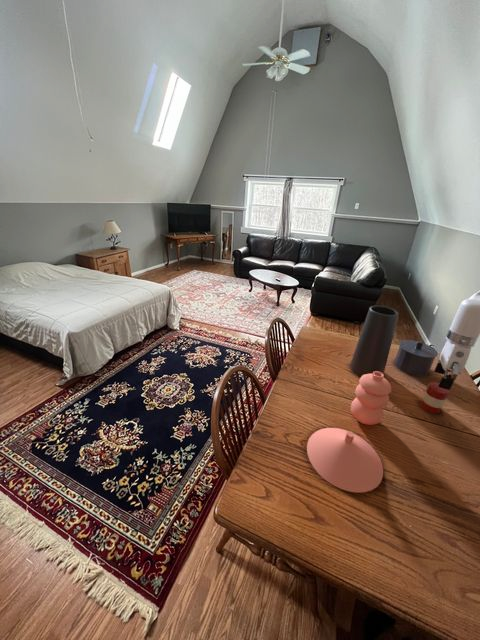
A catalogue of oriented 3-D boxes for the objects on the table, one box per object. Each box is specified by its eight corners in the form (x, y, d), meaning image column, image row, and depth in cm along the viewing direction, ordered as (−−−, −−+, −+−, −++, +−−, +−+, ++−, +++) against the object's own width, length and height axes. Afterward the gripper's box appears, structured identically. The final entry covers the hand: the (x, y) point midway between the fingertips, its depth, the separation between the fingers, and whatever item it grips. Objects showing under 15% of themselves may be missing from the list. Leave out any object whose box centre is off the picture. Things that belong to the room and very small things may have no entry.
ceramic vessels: (370, 510, 65) (393, 457, 57) (294, 459, 77) (303, 409, 69) (400, 426, 90) (419, 381, 82) (339, 397, 102) (350, 355, 94)
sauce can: (435, 402, 101) (444, 383, 97) (443, 414, 96) (453, 395, 92) (417, 399, 102) (425, 380, 98) (424, 411, 97) (432, 391, 93)
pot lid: (428, 344, 124) (431, 336, 122) (442, 361, 111) (446, 353, 109) (394, 340, 126) (397, 332, 125) (404, 356, 114) (407, 347, 112)
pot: (421, 361, 127) (428, 343, 123) (433, 378, 115) (441, 359, 111) (390, 356, 130) (396, 339, 126) (399, 373, 118) (406, 354, 114)
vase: (344, 369, 119) (359, 308, 106) (358, 358, 127) (374, 301, 115) (375, 384, 110) (395, 320, 97) (388, 371, 118) (408, 311, 106)
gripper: (483, 353, 78) (459, 398, 85) (468, 330, 92) (449, 371, 99) (452, 345, 81) (432, 390, 88) (443, 324, 95) (426, 364, 102)
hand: (441, 380), depth 94 cm, fingers open, 9 cm apart
